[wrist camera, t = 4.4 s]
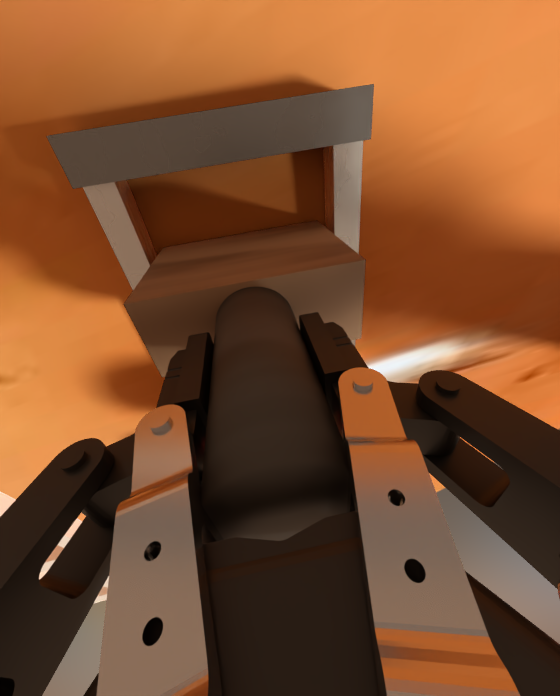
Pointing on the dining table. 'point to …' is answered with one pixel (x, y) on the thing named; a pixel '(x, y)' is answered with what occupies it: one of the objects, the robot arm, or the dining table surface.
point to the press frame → (218, 158)
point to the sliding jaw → (259, 368)
